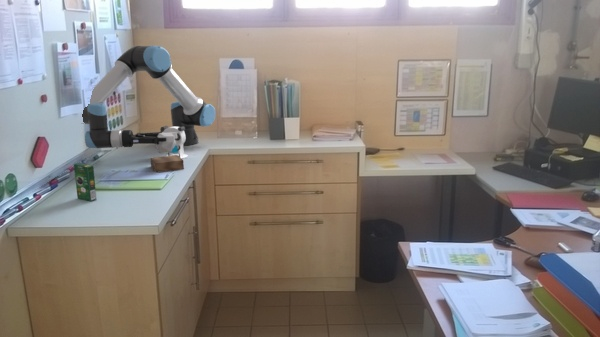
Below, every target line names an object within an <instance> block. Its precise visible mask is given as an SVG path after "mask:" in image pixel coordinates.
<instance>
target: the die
mask: <svg viewBox="0 0 600 337" xmlns="http://www.w3.org/2000/svg"><path fill="white" fill-rule="evenodd" d="M159 136H173V135H172V133H163V132H162V133H159V134H158V136H157V137H158V138H159ZM174 140H175V139H174ZM154 145H155V148H156V149H157V152H159V153H168V152H171V151H172V150H173V148H174V146H175V145H176V142H165V141H162V142H161V143H159V144H158V145H157V143H156V144H154Z"/></svg>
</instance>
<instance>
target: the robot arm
mask: <svg viewBox="0 0 600 337" xmlns="http://www.w3.org/2000/svg"><path fill="white" fill-rule="evenodd" d="M136 72H146V73H147V74H148V75H149V76H150V77H151V78H152V79H153V80H158V81H159V82H160V83H161V85H162V86H163V87H164V88H165V89H166V90H167V91H168V92H169V93H170V95H171V96H172V97H173V98H174V99H175V100H176V101H173V102H171V104H170V116H171V127H174V126H176V127H182V126H184V127H185V130H184V132H185V135H186V140H185V142H184V144H183V147H184V146H192V145H193V146H194V145H196V144H199V136H198V134H197V131H196V128H195V126H197V127H203V128H204V127H210V126H211V125H213V123H214V122H215V120H216V115H217V114H216V108H215V106H213V105H212V104H210V103H206V102H205V101H204V100H203V99H202V97H200V96H196V95H195V93H193V91H192V90H191V89H190V88H189V87H188V86H187V85H186V83H185V82H184V81H183V80H182V78H181V77H180V76H179V75H178V73H176V71H175V70H174V69H173V67H172V59H171V55H170V53H169V52H168V50H167V49H165V48H164V47H163V46H161V45H160V46H159V45H136V46H132V47H131V48H129V49H127V50H126V51H125V52H124V53H123V54H121V55H120V56H119V57H118V59H116V60H115V61H114V66H113V67H112V68H111V69H110V70H108V72H107V73H106V74H105V75H104V77H102V79H100V81H98V83H97V84H95V86H94V87H93V88H94V89H93V88H92V89H93V91H92V95H91V99H90V104H88V106H87V107H85V108H84V110H83V114H82V117H83V122H84V123H85V124H84V123H83V124H84V125H88V127H89V130H87V131H86V132H85V133H84V143H85V146H86V147H87V148H89V149H109V148H112V149H113V148H115V149H116V150H118V149H119V148H132V147H133V146H134V145H139V144H142V145H143V144H144V145H145V144H147V145H148V144H149V145H151V144H152V145H155V144H156V143H157V145H158V144H159V143H161V142H162V141H165V142H175V140H174V139H177V132H171V133H172V135H173V136H159V138H158V137H157V136H158V134H159V133H163V132H162V131H161V130H160V131H155V132H137V133H136V134H134V133H133V130H132V129H123V130H122V129H115V130H113V129H112V130H109V126H108V125H109V124H108V112H107V107H106V106H107V105H106V104H105V101H107V100H108V98H110V96H111V95H112V94H113V93H114V92H116V90H117V89H118V88H119V86H120V85H121V84H122V83H123V82H124V81H126V79H127V78H131V77H132V76H133V75H134V74H135V73H136Z"/></svg>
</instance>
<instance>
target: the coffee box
mask: <svg viewBox="0 0 600 337" xmlns="http://www.w3.org/2000/svg"><path fill="white" fill-rule="evenodd" d="M94 168H95V167H94V165H91V164H86V163H82V162H77V163H73V169H74V171H73V172H74V177H75V186H76V187H75V188H76V196H77V199H79V200H84V201H87V202H94V201H97V192H96V181H95V180H96V179H95V171H94Z"/></svg>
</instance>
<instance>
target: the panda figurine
mask: <svg viewBox="0 0 600 337" xmlns="http://www.w3.org/2000/svg"><path fill="white" fill-rule="evenodd" d="M184 130H185V127H184V126H182V127H176V126H174V127H172V126H170V127H169V126H168V125H164V126H161V127H160V131H162V133H171V132H177V139H175V142H176V145H175V146H174V148H173V150H172V151H171V152H167V155H166V156H172V155H178V156H179V157H180V158H181V159H182V160H184V159H187V158H188V157H189V155H188V154H186V153H185V152H184V146H183V144H184V142H185V140H186V135H185V132H184Z"/></svg>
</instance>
